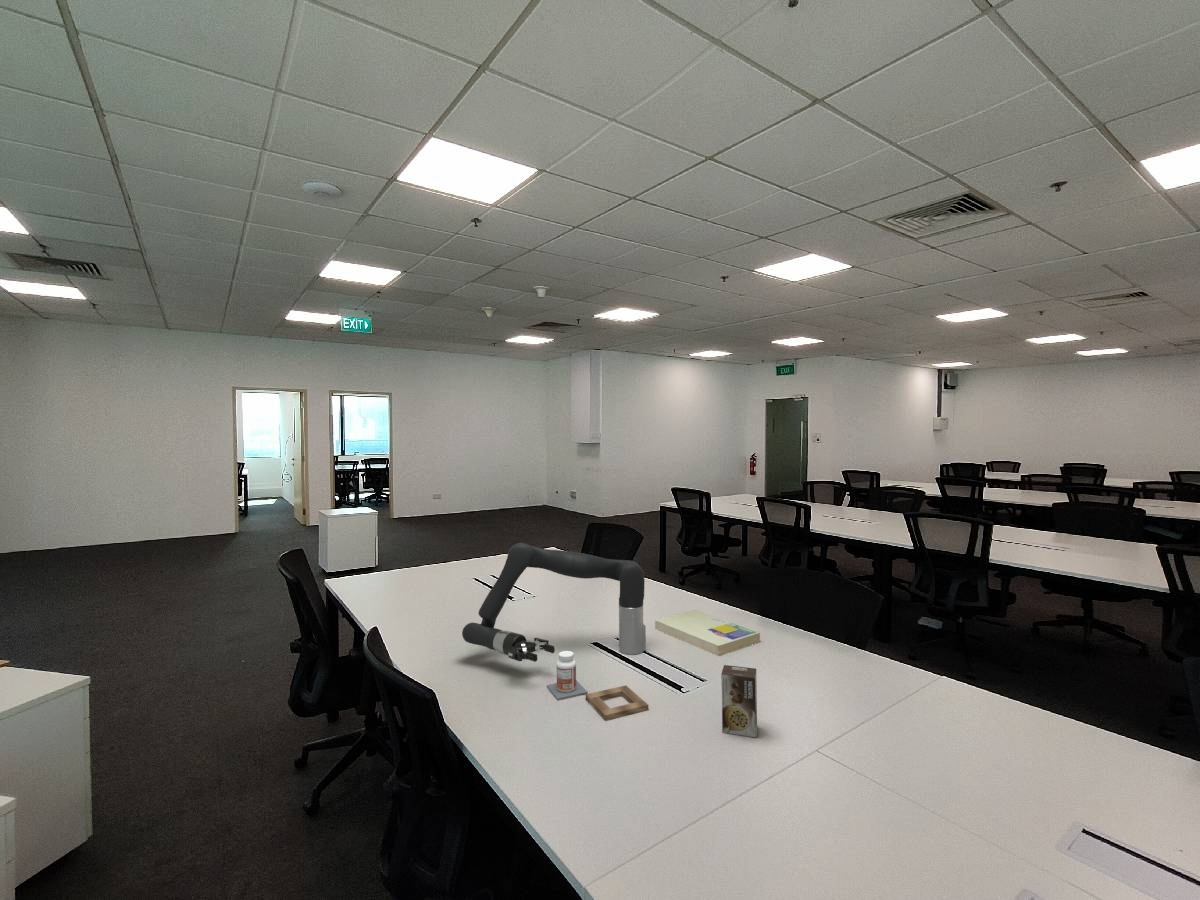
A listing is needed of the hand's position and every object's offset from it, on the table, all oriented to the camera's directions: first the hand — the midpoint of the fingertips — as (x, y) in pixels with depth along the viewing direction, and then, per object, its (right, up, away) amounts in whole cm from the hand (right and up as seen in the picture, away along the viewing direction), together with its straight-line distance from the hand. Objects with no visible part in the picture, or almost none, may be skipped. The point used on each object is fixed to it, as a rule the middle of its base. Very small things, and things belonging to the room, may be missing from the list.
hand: (545, 653), depth 174 cm
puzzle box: (+61, -10, +43) cm, 75 cm away
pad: (+7, -10, -5) cm, 13 cm away
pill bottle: (+7, -9, -5) cm, 13 cm away
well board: (+23, -10, -14) cm, 28 cm away
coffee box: (+56, -10, -29) cm, 64 cm away
